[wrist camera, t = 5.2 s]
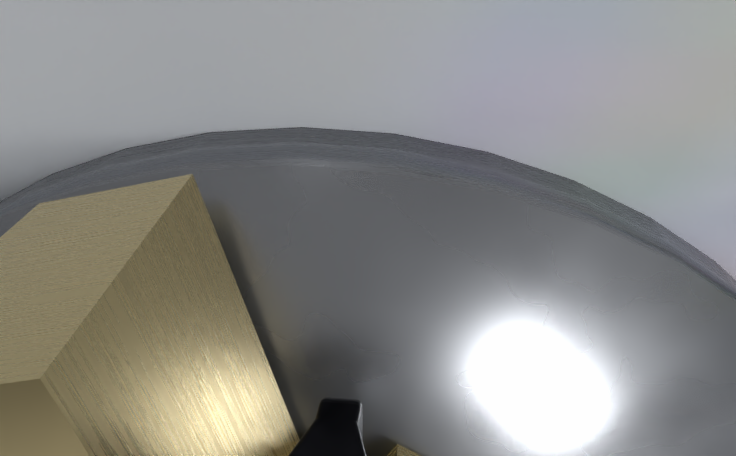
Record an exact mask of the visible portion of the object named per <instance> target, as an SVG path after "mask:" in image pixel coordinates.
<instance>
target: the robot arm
mask: <svg viewBox="0 0 736 456" xmlns="http://www.w3.org/2000/svg"><path fill="white" fill-rule="evenodd" d="M288 456H366V453H365V449H364V445H363V410H362V403H361V402H360V401H359V400H357V399H346V398H333V397H324V398H322V400H321V401H320V403H319V407H318V410H317V414H316V418H315V420H314V421H313V423H312V424H311V426H310V427H309V428H308V430H307V431H306V432H305V434H304V435H303V436H302V438H301V439H300V440H299V442H298V443H297V444H296V446H295V447H294V449H293V450H292V451H291V453H290V454H289V455H288Z"/></svg>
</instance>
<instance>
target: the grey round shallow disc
mask: <svg viewBox="0 0 736 456" xmlns="http://www.w3.org/2000/svg"><path fill="white" fill-rule="evenodd" d="M189 174H193V176H194V178H195V181H196V183H197V186H198V188H199V191H200V193H201V196H202V198H203V201H204V203H205V206H206V208H207V211H208V213H209V216H210V218H211V221H212V223H213V226H214V228H215V231H216V233H217V236H218V238H219V241H220V243H221V246H222V248H223V251H224V253H225V256H226V258H227V261H228V263H229V266H230V268H231V271H232V273H233V276H234V278H235V281H236V283H237V285H238V288H239V290H240V293H241V295H242V298H243V300H244V303H245V305H246V308H247V310H248V313H249V315H250V318H251V320H252V323H253V325H254V328H255V330H256V333H257V335H258V338H259V340H260V343H261V345H262V348H263V350H264V353H265V355H266V358H267V360H268V363H269V365H270V368H271V370H272V373H273V375H274V378H275V380H276V383H277V385H278V388H279V390H280V393H281V395H282V398H283V400H284V403H285V405H286V407H287V410H288V412H289V415H290V417H291V420H292V422H293V425H294V427H295V430H296V432H297V435H298V437H299V440H300V439H301V438H302V436H303V435H304V434H305V432H306V431H307V430H308V428H309V427H310V426H311V424H312V423H313V421H314V420H315V418H316V414H317V410H318V407H319V403H320V401H321V400H322V398H324V397H333V398H346V399H357V400H359V401H360V402H361V403H362V410H363V445H364V449H365V453H366V456H386V455H387V454H388V453H389V452H390V451H391V450H392V449H393V448H394V447H395V446H396V445H397V444H399V445H401V446H403V447H405V448H407V449H409V450H411V451H413V452H415V453H417V454H419V455H421V456H736V280H735V279H733V278H732V277H731V276H730V275H729V274H728V273H727V272H726V271H725V270H724V269H723V268H722V267H721V266H720V265H719V264H717V263H716V262H715V261H714V260H712V259H711V258H709V257H708V256H706V255H705V254H703V253H702V252H701V251H699V250H698V249H696V248H695V247H693V246H692V245H690V244H689V243H687V242H686V241H684V240H683V239H681V238H680V237H678V236H677V235H675V234H674V233H672V232H671V231H669V230H668V229H666V228H665V227H664V226H662V225H661V224H659V223H658V222H656V221H655V220H653V219H652V218H650V217H648V216H646V215H644V214H642V213H640V212H638V211H636V210H634V209H632V208H629V207H627V206H625V205H623V204H621V203H619V202H617V201H615V200H613V199H611V198H609V197H607V196H605V195H603V194H601V193H599V192H596V191H594V190H592V189H590V188H588V187H586V186H584V185H582V184H580V183H578V182H576V181H574V180H571V179H568V178H565V177H562V176H559V175H556V174H553V173H550V172H547V171H544V170H541V169H538V168H535V167H532V166H528V165H525V164H522V163H519V162H516V161H513V160H510V159H507V158H504V157H501V156H498V155H495V154H492V153H489V152H485V151H480V150H475V149H470V148H465V147H460V146H455V145H449V144H444V143H439V142H434V141H429V140H424V139H419V138H414V137H409V136H403V135H398V134H389V133H375V132H361V131H346V130H332V129H318V128H303V127H301V128H283V129H265V130H247V131H229V132H212V133H206V134H201V135H196V136H190V137H185V138H180V139H175V140H169V141H164V142H159V143H153V144H148V145H143V146H137V147H132V148H127V149H124V150H122V151H119V152H116V153H113V154H110V155H107V156H104V157H101V158H98V159H95V160H92V161H89V162H86V163H83V164H80V165H78V166H75V167H72V168H69V169H66V170H63V171H60V172H57V173H54V174H52V175H50V176H48V177H46V178H45V179H43V180H41V181H39V182H37V183H35V184H33V185H31V186H29V187H27V188H26V189H24V190H22V191H20V192H18V193H16V194H14V195H12V196H10V197H8V198H7V199H5V200H3V201H1V202H0V237H1V236H2V235H4V234H5V233H6V232H7V231H8V230H9V229H10V228H12V227H13V226H14V225H15V224H16V223H17V222H18V221H20V220H21V219H22V218H23V217H24V216H25V215H26V214H27V213H29V212H30V211H31V210H32V209H33V208H34V207H35V206H37V205H38V204H39V203H43V202H49V201H54V200H59V199H64V198H69V197H75V196H80V195H85V194H90V193H95V192H100V191H106V190H111V189H116V188H121V187H126V186H132V185H137V184H142V183H147V182H152V181H157V180H163V179H168V178H173V177H178V176H183V175H189Z"/></svg>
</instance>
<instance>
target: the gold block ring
mask: <svg viewBox="0 0 736 456" xmlns="http://www.w3.org/2000/svg"><path fill="white" fill-rule="evenodd" d="M298 442H299V437H298V435H297V432H296V430H295V427H294V425H293V422H292V420H291V417H290V415H289V412H288V410H287V407H286V405H285V403H284V400H283V398H282V395H281V393H280V390H279V388H278V385H277V383H276V380H275V378H274V375H273V373H272V370H271V368H270V365H269V363H268V360H267V358H266V355H265V353H264V350H263V348H262V345H261V343H260V340H259V338H258V335H257V333H256V330H255V328H254V325H253V323H252V320H251V318H250V315H249V313H248V310H247V308H246V305H245V303H244V300H243V298H242V295H241V293H240V290H239V288H238V285H237V283H236V281H235V278H234V276H233V273H232V271H231V268H230V266H229V263H228V261H227V258H226V256H225V253H224V251H223V248H222V246H221V243H220V241H219V238H218V236H217V233H216V231H215V228H214V226H213V223H212V221H211V218H210V216H209V213H208V211H207V208H206V206H205V203H204V201H203V198H202V196H201V193H200V191H199V188H198V186H197V183H196V181H195V178H194V176H193V174H189V175H183V176H178V177H173V178H168V179H163V180H157V181H152V182H147V183H142V184H137V185H132V186H126V187H121V188H116V189H111V190H106V191H100V192H95V193H90V194H85V195H80V196H75V197H69V198H64V199H59V200H54V201H49V202H43V203H39V204H38V205H37V206H35V207H34V208H33V209H32V210H31V211H30V212H29V213H27V214H26V215H25V216H24V217H23V218H22V219H21V220H20V221H18V222H17V223H16V224H15V225H14V226H13V227H12V228H10V229H9V230H8V231H7V232H6V233H5V234H4V235H2V236H1V237H0V456H288V455H289V454H290V453H291V451H292V450H293V449H294V447H295V446H296V444H297V443H298ZM386 456H421V455H419V454H417V453H415V452H413V451H411V450H409V449H407V448H405V447H403V446H401V445H399V444H397V445H396V446H395V447H394V448H393V449H392V450H391V451H390V452H389V453H388V454H387V455H386Z"/></svg>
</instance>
